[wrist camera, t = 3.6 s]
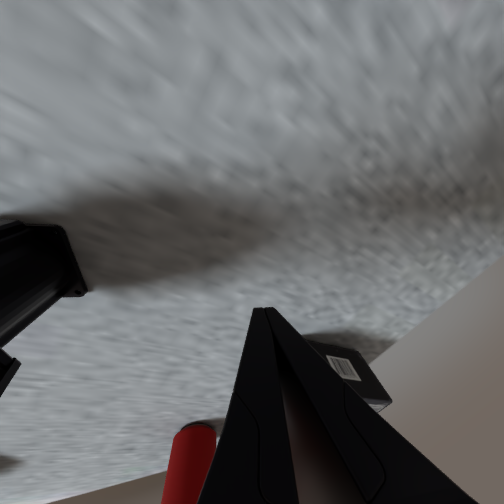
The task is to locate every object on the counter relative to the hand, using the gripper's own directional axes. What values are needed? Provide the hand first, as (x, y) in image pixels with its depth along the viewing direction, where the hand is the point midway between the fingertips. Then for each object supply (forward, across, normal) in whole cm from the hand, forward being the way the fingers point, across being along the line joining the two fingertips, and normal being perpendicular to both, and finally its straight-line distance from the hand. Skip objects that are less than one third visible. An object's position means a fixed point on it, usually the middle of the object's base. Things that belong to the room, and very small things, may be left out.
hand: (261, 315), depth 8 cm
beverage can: (+10, +6, +35) cm, 37 cm away
